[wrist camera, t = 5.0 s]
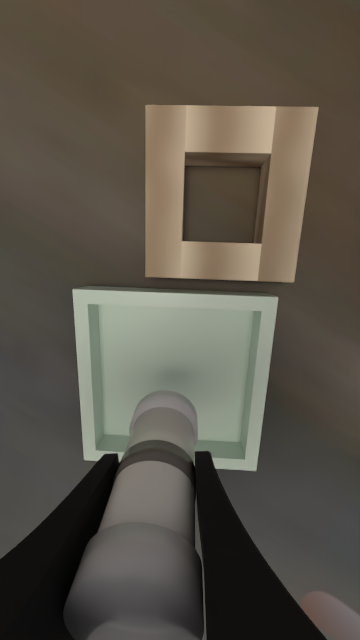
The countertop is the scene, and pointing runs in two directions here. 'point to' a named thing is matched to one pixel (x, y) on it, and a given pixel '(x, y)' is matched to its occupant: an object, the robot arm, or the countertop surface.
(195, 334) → the parts tray
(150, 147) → the wooden square frame
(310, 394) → the countertop surface
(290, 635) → the robot arm
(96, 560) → the cylinder
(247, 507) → the countertop surface
